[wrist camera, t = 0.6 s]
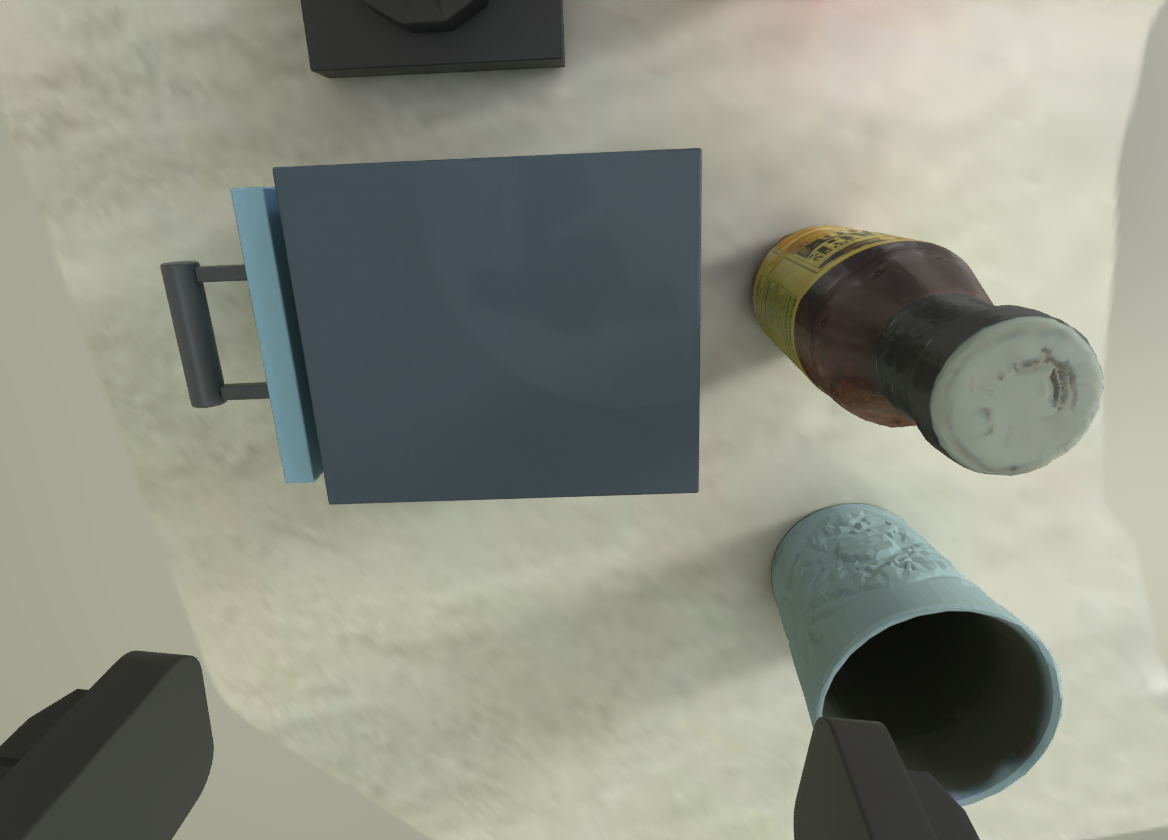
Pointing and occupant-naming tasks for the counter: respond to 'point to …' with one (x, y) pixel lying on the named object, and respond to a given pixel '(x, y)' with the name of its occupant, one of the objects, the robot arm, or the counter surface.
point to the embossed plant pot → (914, 650)
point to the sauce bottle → (927, 347)
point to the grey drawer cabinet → (500, 323)
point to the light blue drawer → (273, 327)
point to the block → (431, 36)
